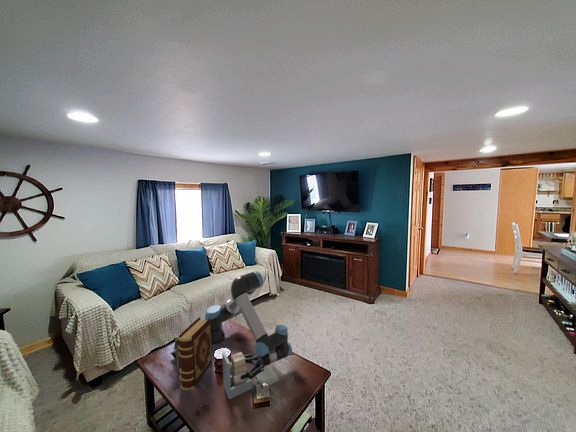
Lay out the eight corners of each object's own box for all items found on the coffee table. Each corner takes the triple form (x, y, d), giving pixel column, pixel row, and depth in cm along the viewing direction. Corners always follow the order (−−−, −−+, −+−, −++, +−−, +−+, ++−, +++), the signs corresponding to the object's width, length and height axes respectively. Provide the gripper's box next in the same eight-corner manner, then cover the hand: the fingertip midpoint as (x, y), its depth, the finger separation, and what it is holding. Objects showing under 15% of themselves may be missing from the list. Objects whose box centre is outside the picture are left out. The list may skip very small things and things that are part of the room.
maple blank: (232, 386, 131) (230, 355, 129) (242, 381, 134) (241, 351, 132) (235, 393, 126) (234, 362, 124) (246, 388, 129) (245, 358, 127)
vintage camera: (185, 352, 160) (182, 324, 158) (194, 362, 149) (192, 332, 147) (170, 359, 153) (167, 330, 151) (178, 371, 142) (176, 340, 140)
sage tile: (252, 370, 142) (252, 369, 142) (266, 364, 147) (266, 363, 147) (262, 387, 129) (262, 386, 129) (278, 380, 134) (278, 378, 134)
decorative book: (191, 391, 127) (188, 339, 124) (178, 389, 129) (175, 338, 126) (212, 362, 149) (210, 317, 146) (201, 360, 151) (199, 316, 148)
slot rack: (223, 387, 130) (222, 353, 128) (246, 377, 137) (245, 344, 135) (229, 399, 122) (227, 363, 120) (252, 388, 129) (251, 354, 127)
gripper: (277, 375, 129) (238, 394, 117) (259, 352, 148) (224, 366, 136) (276, 363, 128) (238, 380, 116) (259, 341, 147) (224, 354, 136)
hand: (230, 372), depth 126 cm, fingers open, 10 cm apart
